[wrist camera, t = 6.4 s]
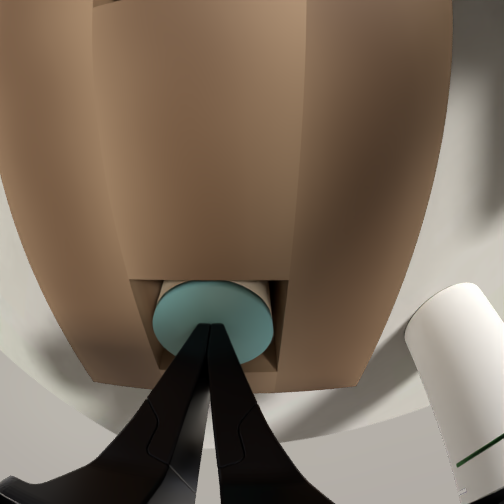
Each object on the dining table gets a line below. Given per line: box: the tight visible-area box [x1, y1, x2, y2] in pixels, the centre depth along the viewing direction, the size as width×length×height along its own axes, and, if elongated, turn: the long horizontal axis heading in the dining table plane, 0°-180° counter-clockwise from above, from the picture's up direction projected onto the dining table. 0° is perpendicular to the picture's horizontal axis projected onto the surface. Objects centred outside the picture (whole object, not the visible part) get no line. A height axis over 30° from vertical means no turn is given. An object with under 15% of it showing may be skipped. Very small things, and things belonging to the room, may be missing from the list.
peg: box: [153, 280, 273, 364], centre depth 12 cm, size 4×4×6 cm
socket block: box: [0, 0, 453, 393], centre depth 9 cm, size 12×20×6 cm, turn 179°
